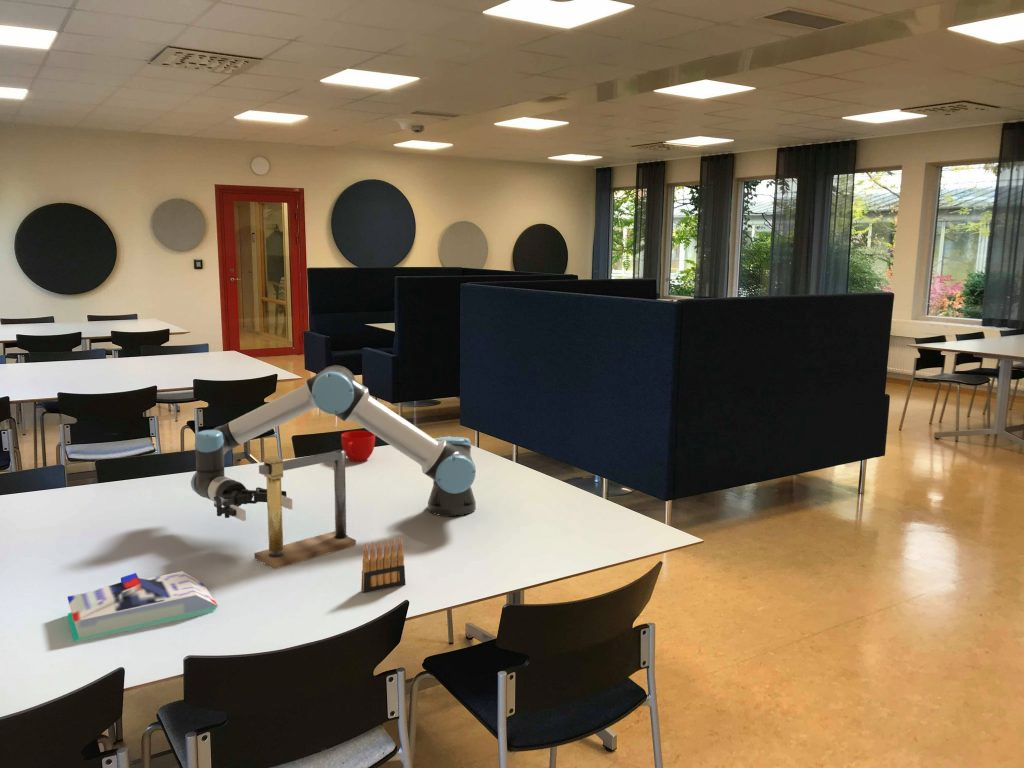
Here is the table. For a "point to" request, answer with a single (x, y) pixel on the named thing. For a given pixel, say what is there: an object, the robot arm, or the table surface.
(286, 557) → the walnut board
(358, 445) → the ceramic cup
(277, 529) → the brass leg
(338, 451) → the steel frame
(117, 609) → the toy car
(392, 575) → the ammunition clip
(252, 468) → the table surface
